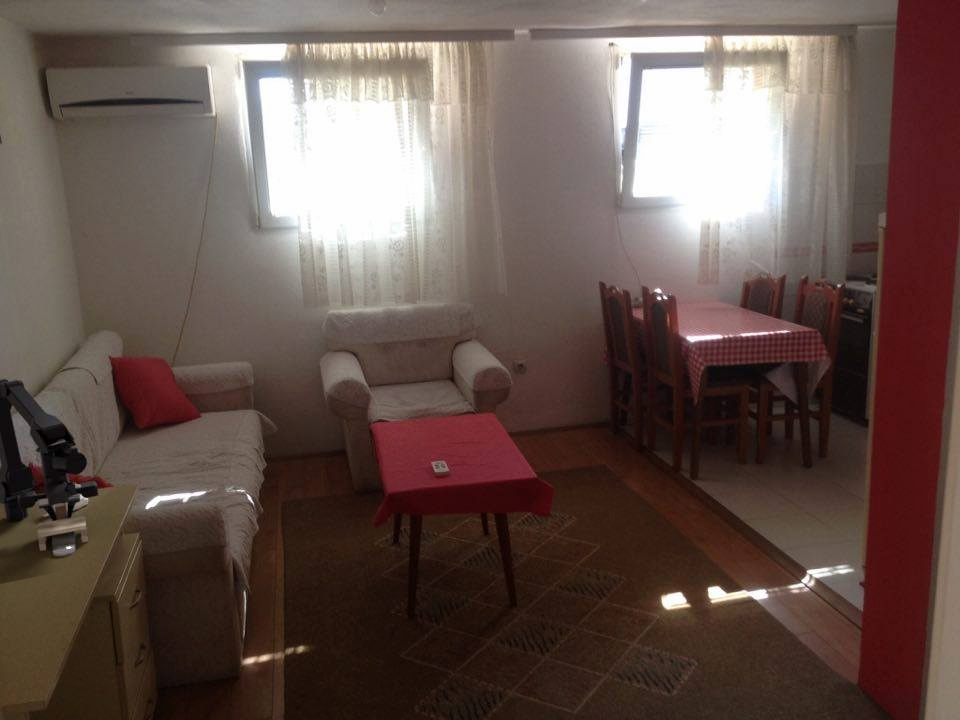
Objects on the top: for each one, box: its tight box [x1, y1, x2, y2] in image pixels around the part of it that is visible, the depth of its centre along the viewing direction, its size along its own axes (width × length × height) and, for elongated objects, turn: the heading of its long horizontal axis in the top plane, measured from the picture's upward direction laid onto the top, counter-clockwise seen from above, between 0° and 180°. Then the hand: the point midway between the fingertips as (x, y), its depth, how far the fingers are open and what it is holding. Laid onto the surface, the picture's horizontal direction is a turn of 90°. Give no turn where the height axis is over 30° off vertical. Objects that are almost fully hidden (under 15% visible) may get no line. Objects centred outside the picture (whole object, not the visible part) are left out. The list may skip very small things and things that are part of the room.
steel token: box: [52, 544, 76, 557], centre depth 208 cm, size 5×5×2 cm
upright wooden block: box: [51, 503, 76, 549], centre depth 217 cm, size 16×5×7 cm, turn 27°
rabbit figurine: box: [42, 482, 89, 518], centre depth 238 cm, size 12×8×10 cm, turn 119°
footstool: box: [37, 514, 89, 552], centre depth 215 cm, size 8×11×4 cm
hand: (63, 525), depth 222 cm, fingers closed on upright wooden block, 2 cm apart
